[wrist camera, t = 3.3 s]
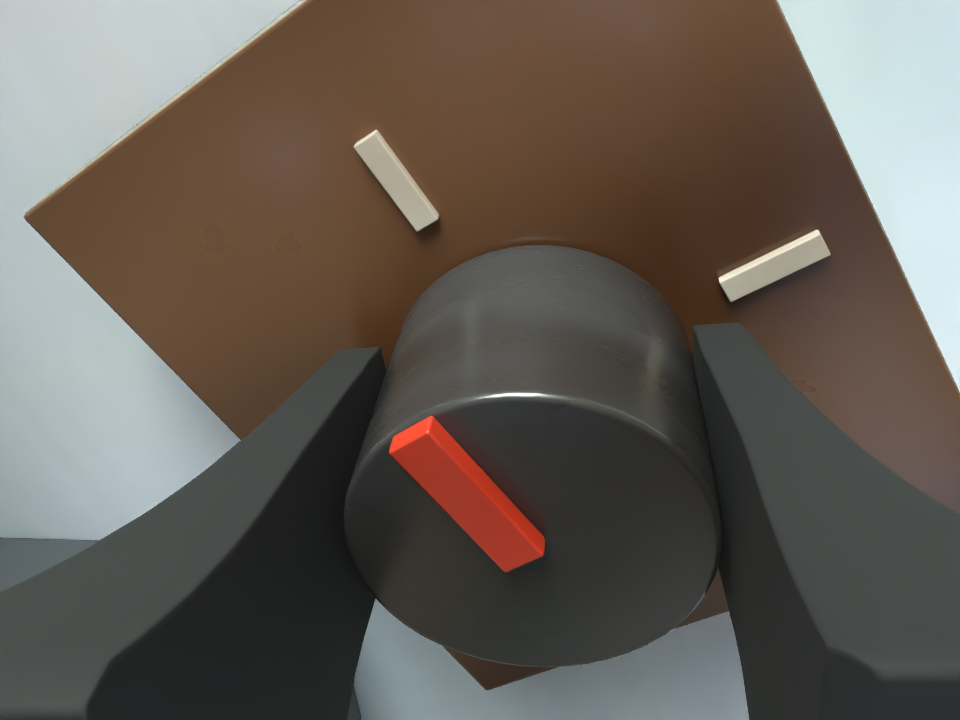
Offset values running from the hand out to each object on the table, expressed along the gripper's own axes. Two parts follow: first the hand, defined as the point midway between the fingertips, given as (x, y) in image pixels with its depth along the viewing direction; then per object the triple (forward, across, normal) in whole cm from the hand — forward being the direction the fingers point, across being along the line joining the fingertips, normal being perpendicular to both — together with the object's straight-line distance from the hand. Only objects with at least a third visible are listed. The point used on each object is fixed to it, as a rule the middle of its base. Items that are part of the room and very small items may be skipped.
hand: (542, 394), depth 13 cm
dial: (0, 0, 0) cm, 0 cm away
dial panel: (+3, 0, 0) cm, 3 cm away
